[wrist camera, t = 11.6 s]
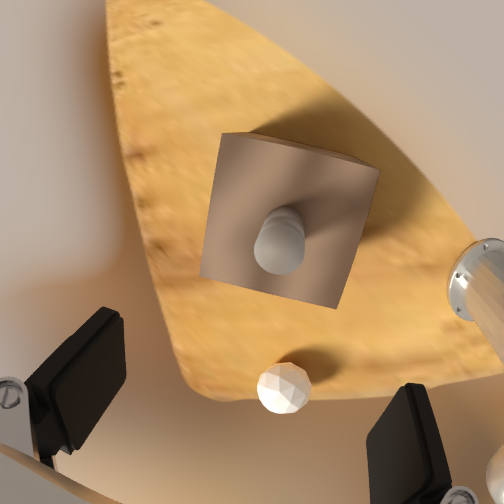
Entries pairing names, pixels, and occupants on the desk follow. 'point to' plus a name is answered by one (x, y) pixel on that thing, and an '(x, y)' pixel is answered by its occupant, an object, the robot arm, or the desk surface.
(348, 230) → the walnut cover
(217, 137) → the desk surface
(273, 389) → the geometric ball
